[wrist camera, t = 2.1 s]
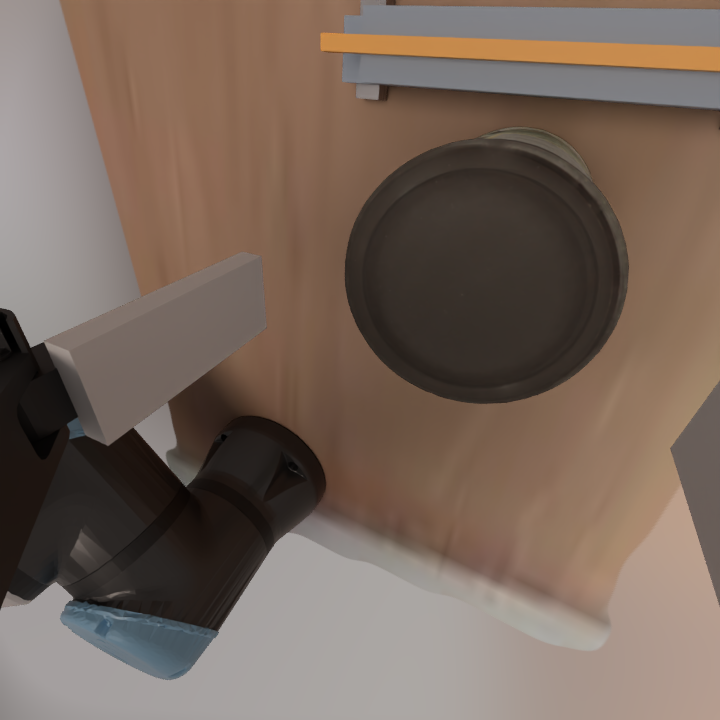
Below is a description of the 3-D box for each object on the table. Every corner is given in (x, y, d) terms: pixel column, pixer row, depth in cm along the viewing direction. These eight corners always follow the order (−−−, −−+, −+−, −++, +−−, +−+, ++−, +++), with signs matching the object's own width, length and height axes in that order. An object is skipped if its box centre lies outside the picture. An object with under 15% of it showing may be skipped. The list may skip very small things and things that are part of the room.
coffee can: (536, 314, 28) (522, 443, 17) (408, 254, 30) (319, 338, 19) (639, 164, 22) (717, 218, 11) (469, 98, 24) (389, 88, 13)
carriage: (349, 82, 24) (312, 78, 21) (352, 19, 23) (312, 1, 19) (789, 116, 18) (848, 117, 14) (838, 30, 16) (919, 7, 13)
